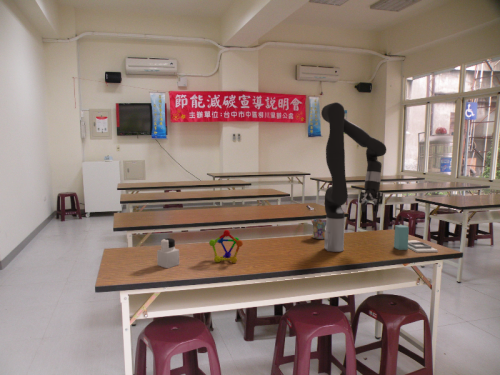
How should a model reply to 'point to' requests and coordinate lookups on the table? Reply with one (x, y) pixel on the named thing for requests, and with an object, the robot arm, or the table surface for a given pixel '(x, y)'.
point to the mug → (318, 228)
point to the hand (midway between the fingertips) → (369, 212)
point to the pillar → (401, 237)
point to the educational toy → (227, 254)
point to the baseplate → (420, 246)
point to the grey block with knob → (168, 254)
